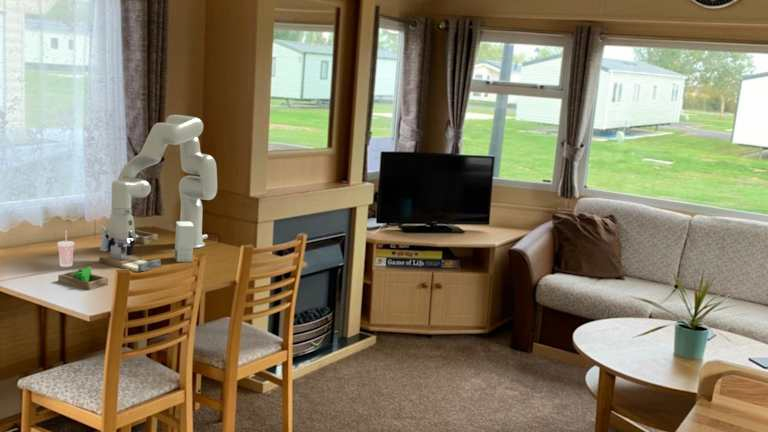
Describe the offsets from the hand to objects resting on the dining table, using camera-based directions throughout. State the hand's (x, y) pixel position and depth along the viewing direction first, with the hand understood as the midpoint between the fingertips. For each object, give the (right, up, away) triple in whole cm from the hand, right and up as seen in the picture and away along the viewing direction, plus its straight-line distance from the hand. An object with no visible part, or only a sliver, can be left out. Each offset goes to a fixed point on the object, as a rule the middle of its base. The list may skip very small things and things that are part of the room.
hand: (120, 253), depth 306 cm
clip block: (0, -2, 0) cm, 2 cm away
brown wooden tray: (-3, -9, -30) cm, 32 cm away
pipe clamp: (-3, -10, -30) cm, 32 cm away
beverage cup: (-18, -4, -9) cm, 21 cm away
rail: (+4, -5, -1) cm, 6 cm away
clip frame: (-6, +4, +40) cm, 41 cm away
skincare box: (+22, -4, +13) cm, 26 cm away
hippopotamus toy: (-9, 0, +20) cm, 22 cm away
